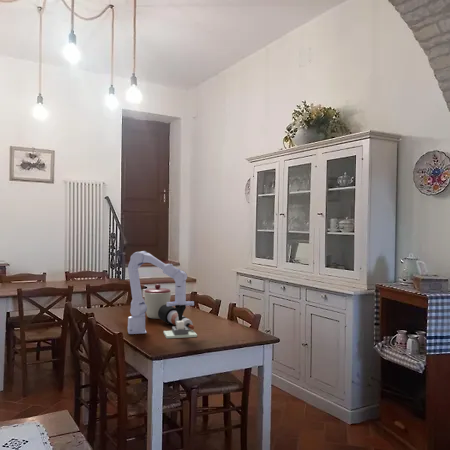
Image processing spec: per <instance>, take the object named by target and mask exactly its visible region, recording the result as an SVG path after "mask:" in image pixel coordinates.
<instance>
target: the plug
mask: <svg viewBox="0 0 450 450" xmlns="http://www.w3.org/2000/svg"><path fill="white" fill-rule="evenodd" d="M175 326H176V330H180V329H184V322H183V321H176V325H175Z"/></svg>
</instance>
